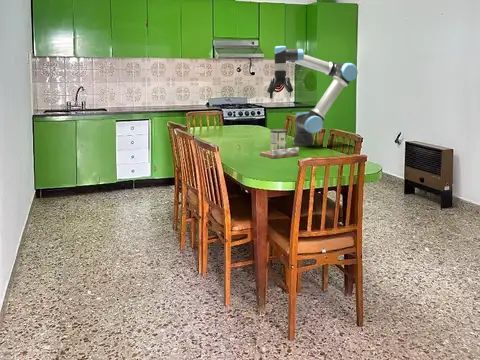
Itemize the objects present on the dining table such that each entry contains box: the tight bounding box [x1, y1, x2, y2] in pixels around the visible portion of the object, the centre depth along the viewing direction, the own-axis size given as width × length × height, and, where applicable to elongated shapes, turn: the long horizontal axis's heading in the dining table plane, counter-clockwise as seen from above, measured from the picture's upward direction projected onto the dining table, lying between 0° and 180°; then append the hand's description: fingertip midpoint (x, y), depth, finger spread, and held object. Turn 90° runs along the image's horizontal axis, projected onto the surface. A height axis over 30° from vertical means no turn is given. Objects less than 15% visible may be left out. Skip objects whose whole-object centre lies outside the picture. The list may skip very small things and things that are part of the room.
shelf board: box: [259, 146, 300, 159], centre depth 318 cm, size 20×14×5 cm
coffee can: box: [269, 128, 288, 153], centre depth 318 cm, size 10×10×14 cm
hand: (280, 102), depth 336 cm, fingers open, 13 cm apart
